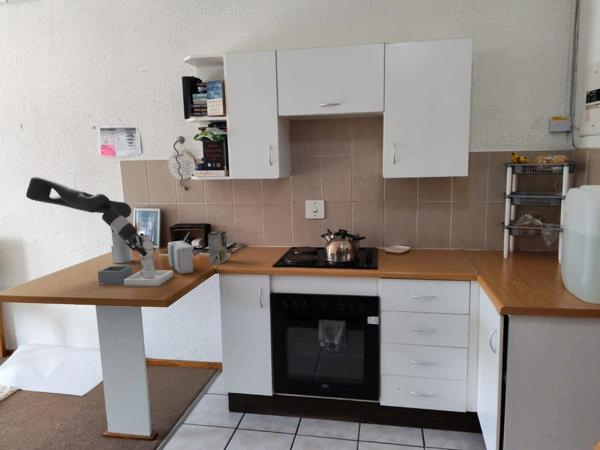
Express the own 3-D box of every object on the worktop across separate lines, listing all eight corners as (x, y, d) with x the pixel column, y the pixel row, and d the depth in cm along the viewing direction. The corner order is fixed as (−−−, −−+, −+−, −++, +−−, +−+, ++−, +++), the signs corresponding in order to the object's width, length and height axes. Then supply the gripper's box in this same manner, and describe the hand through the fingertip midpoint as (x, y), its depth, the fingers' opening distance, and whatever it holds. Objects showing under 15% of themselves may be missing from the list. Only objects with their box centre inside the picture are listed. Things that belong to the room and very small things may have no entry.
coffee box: (217, 259, 236) (215, 230, 234) (227, 260, 234) (226, 230, 232) (209, 263, 227) (207, 233, 225) (220, 263, 226) (218, 233, 223)
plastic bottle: (141, 281, 191) (138, 237, 189) (141, 278, 198) (137, 235, 195) (157, 279, 194) (153, 236, 191) (155, 276, 200) (152, 234, 197)
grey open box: (99, 284, 193) (97, 271, 192) (110, 278, 203) (109, 266, 202) (122, 284, 192) (121, 271, 191) (133, 278, 202) (132, 265, 201)
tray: (124, 286, 189) (123, 279, 188) (141, 276, 204) (140, 270, 204) (159, 286, 187) (158, 279, 187) (173, 276, 203) (173, 270, 202)
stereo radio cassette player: (168, 267, 223) (165, 229, 220) (184, 264, 227) (181, 227, 224) (178, 275, 205) (175, 234, 202) (195, 272, 209) (192, 232, 206)
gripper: (126, 231, 201) (152, 255, 201) (110, 236, 187) (137, 262, 187) (136, 220, 200) (162, 244, 200) (120, 224, 186) (148, 250, 186)
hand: (150, 253), depth 194 cm, fingers open, 8 cm apart
